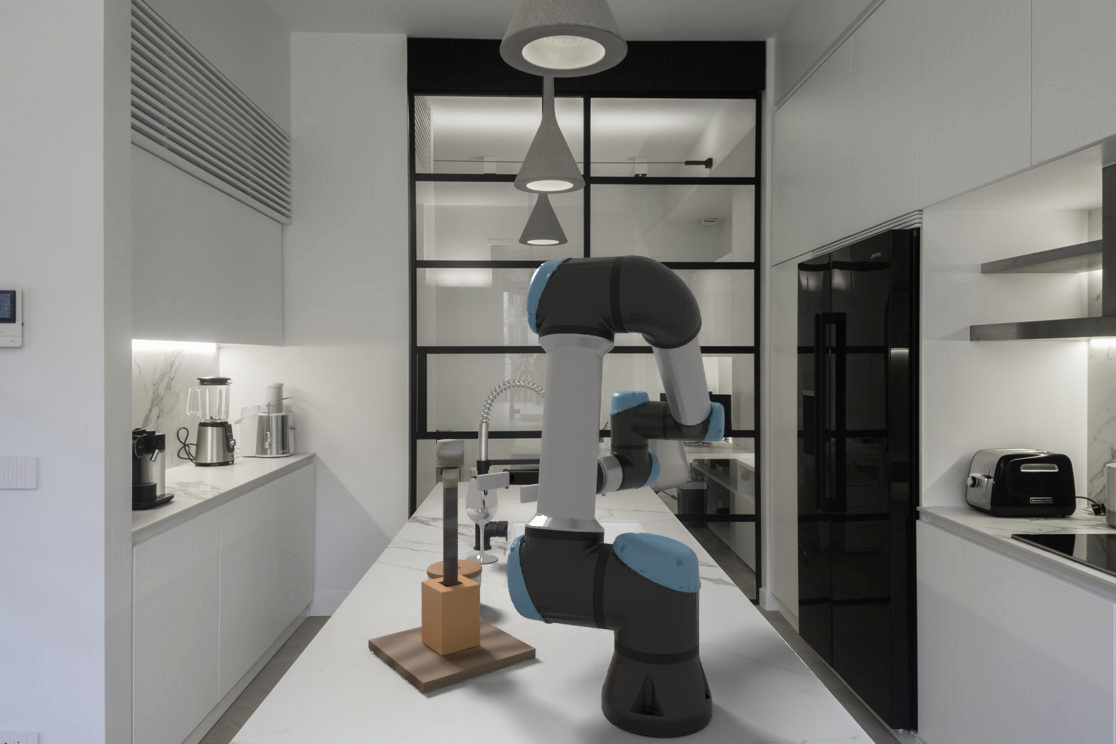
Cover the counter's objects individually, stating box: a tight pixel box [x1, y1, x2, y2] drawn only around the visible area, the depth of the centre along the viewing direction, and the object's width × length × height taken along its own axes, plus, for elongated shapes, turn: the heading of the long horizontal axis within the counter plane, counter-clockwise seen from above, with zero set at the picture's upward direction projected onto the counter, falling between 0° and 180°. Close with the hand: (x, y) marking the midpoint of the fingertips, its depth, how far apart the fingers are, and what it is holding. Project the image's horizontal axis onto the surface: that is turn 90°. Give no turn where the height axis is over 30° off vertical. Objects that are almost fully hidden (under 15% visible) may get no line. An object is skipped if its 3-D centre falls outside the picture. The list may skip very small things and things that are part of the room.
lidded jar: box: [426, 559, 483, 588], centre depth 138 cm, size 11×11×9 cm
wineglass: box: [465, 475, 499, 565], centre depth 171 cm, size 8×8×20 cm
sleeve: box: [421, 574, 481, 656], centre depth 116 cm, size 7×7×10 cm
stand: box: [367, 438, 537, 694], centre depth 116 cm, size 20×20×35 cm
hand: (498, 488), depth 121 cm, fingers open, 13 cm apart
